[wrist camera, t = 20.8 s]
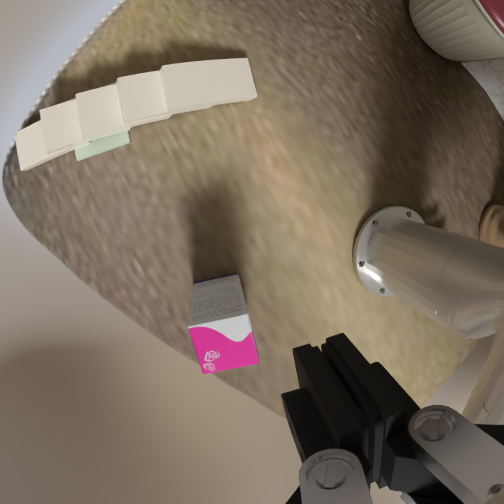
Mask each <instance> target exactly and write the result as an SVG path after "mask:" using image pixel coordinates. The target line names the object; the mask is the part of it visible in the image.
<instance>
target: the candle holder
mask: <svg viewBox="0 0 504 504" xmlns="http://www.w3.org/2000/svg"><path fill="white" fill-rule="evenodd" d="M479 239H480V241H482V242H485V243H488V244H491V245H495V246H498V247H502V248H504V207H503V206H501V205H498V204H493V205H491V206H489V207H488V208H487V209H486V211H485V212H484V214H483V216H482V219H481V222H480V227H479Z"/></svg>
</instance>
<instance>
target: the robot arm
mask: <svg viewBox="0 0 504 504" xmlns="http://www.w3.org/2000/svg"><path fill="white" fill-rule="evenodd" d="M373 221H374V222H373ZM359 262H360V263H359ZM353 264H354V269H355V272H356V275H357V277H358V279H359V281H360V282H361V283H362V285H363V286H364V287H365V288H367V289H368V290H369V291H371V292H372V293H374V294H376V295H379V296H385V297H390V296H396V295H397V296H399V297H400V298H402V299H403V300H405V301H406V302H408V303H409V304H410V305H412V306H413V307H415V308H416V309H418V310H419V311H421V312H422V313H424V314H425V315H426V316H428V317H429V318H431V319H432V320H434V321H435V322H436V323H438V324H439V325H441V326H442V327H444V328H445V329H446V330H448V331H449V332H451V333H452V334H454V335H456V336H458V337H461V338H466V339H475V338H481V337H485V336H488V335H491V334H493V333H496V336H495V340H494V343H493V346H492V348H491V351H490V355H489V357H488V359H487V362H486V364H485V366H484V368H483V370H482V373H481V375H480V377H479V379H478V381H477V383H476V385H475V387H474V389H473V391H472V394H471V396H470V398H469V400H468V402H467V404H466V406H465V408H464V410H463V413H462V415H461V414H459V413H458V412H457V411H455V410H454V409H452V408H450V407H448V406H443V405H432V406H428V407H425V408H422V409H420V407H419V406H418V405H417V404H416V403H415V402H414V401H413V400H412V398H411V397H410V396H409V395H408V394H407V393H406V392H405V390H404V389H403V388H402V387H401V386H400V385H399V384H398V383H397V381H396V380H395V379H394V378H393V377H392V376H391V375H390V374H389V372H388V371H387V370H386V369H385V368H384V367H383V366H382V365H381V364H380V363H379V362H374V363H372V364H370V363H369V362H368V361H367V360H366V359H365V358H364V356H363V355H362V354H361V353H360V352H359V350H358V349H357V348H356V347H355V346H354V345H353V343H352V342H351V341H350V340H349V339H348V338H347V336H346V335H345V334H344V333H340V334H337V335H334V336H331V337H328V338H326V343H324V344H322V345H321V349H322V352H321V351H320V349H319V347H318V346H315V347H312V346H311V345H310V344H306V345H303V346H299V347H296V348H293V356H294V361H295V366H296V371H297V376H298V382H299V387H300V389H296V390H293V391H290V392H286V393H283V394H281V397H282V401H283V405H284V410H285V413H286V417H287V421H288V424H289V427H290V430H291V433H292V436H293V439H294V442H295V444H296V447H297V450H298V453H299V456H300V458H301V461H302V466H301V468H300V471H299V482H300V485H299V487H298V488H297V490H296V491H295V492H294V494H293V495H292V496H291V497H290V499H289V500H288V501H287V502H286V504H373V502H372V498H371V495H370V484H371V483H373V482H376V483H377V485H378V487H379V488H383V487H385V486H388V487H389V489H390V490H394V491H398V494H399V495H400V497H401V498H402V499H403V501H405V503H406V504H504V248H502V247H498V246H495V245H491V244H488V243H485V242H482V241H479V240H476V239H473V238H469V237H466V236H463V235H460V234H456V233H453V232H450V231H448V230H447V229H446V228H444V229H440V228H436V227H433V226H429V225H426V224H425V222H424V221H423V219H422V218H421V217H420V216H419V214H418V213H416V212H415V211H413V210H412V209H409V208H407V207H403V206H388V207H384V208H382V209H380V210H378V211H376V212H375V213H374V214H372V215H371V216H370V217H369V218H368V219H367V220H366V221H365V223H364V224H363V226H362V227H361V229H360V231H359V233H358V235H357V238H356V241H355V245H354V250H353Z"/></svg>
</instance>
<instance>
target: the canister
mask: <svg viewBox="0 0 504 504" xmlns="http://www.w3.org/2000/svg"><path fill="white" fill-rule="evenodd" d="M409 12H410V17H411V21H412V23H413V24H414V27H415V29H416V30H417V33H418V34H419V35H420V37H421V38H422V39H423V40H424V42H425V43H426V44H427V45H428V46H429V47H430V48H432V50H433V51H435V52H437V54H439V55H441V56H443V57H444V58H447V59H449V60H454V61H475V60H485V59H495V58H504V0H409Z"/></svg>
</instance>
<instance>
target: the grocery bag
mask: <svg viewBox="0 0 504 504" xmlns="http://www.w3.org/2000/svg"><path fill="white" fill-rule="evenodd" d="M461 64H462V65H463V66H464V67H465V68H466V69H467V70H468V71H469V72H470V73H471V74H472V76H473V77H474V78H475V79H476V80H477V81H478V82H479V84H480V85H481V86H482V87H483V88H484V90H485V91H486V92H487V94H488V95H489V97H490V98H491V100H492V102H493V103H494V105H495V107H496V108H497V110H498V112H499V113H500V115H501V117H502V119H503V120H504V58H495V59H485V60H475V61H462V62H461Z"/></svg>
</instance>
